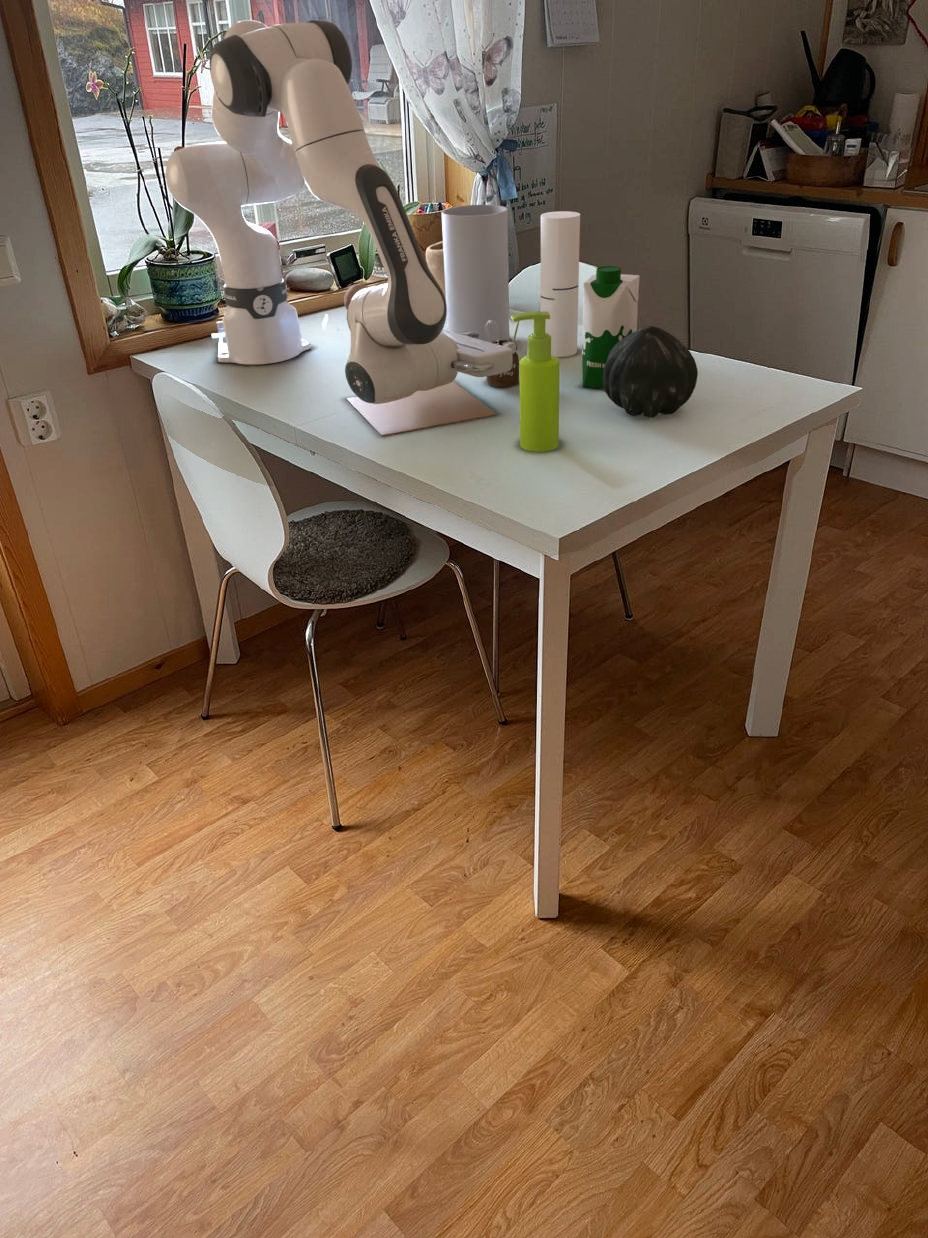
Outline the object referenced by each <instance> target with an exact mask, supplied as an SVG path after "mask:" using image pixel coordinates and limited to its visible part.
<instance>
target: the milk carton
mask: <svg viewBox="0 0 928 1238" xmlns="http://www.w3.org/2000/svg"><path fill="white" fill-rule="evenodd" d="M595 271H596V272H595V274H594V275H591V276H590V277H589V278H587V279H586V280H585V281H584V282H582V290H583V291H582V299H583V300H582V302H583V303H582V304H583V305H582V337H581V338H582V341H581V342H582V345H581V371H582V375H581V376H582V388H587V389H588V388H589V389H596V390H597V389H598V390H605V389H604V384H603V373H604V367H605V364H606V361H607V358H608V355H609V353H610V351H611V350H612V349H613V347H614V346H615V345H616V344H617V343H618V342H619V341H620V340H622V339H623V338H625V337H626V336H628V335H629V334H631V333H633V332H635V331H637V330H638V327H637V326H638V312H639V311H638V309H639V308H638V305H639V289H640V277H641V276H640V275H639V274H626V273H622V268H621V267H619V266H617V265H602V266H599V267H597V268H596V269H595Z"/></svg>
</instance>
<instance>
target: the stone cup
mask: <svg viewBox="0 0 928 1238" xmlns="http://www.w3.org/2000/svg"><path fill="white" fill-rule="evenodd" d="M425 262H426V264H427V266H428V268H429V270H430V272H431V273H432V275H433V276H434V278H435V279H436V281H437V282H438V284H439V286H440V287H441V289H442V291H443V294H444V296H445V299H446V291H445V271H444V252H443V240H441V241H439V242H436V243H433V244H431V245H429V246H428V247H427V248H426V250H425Z"/></svg>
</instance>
